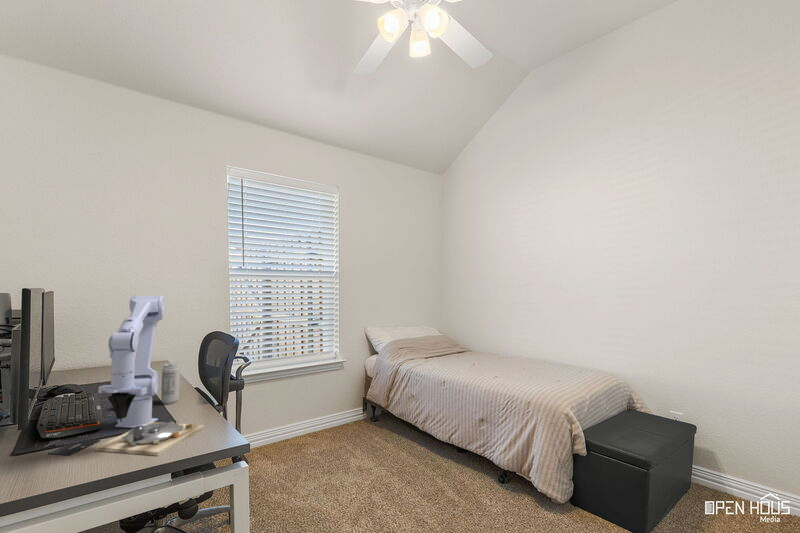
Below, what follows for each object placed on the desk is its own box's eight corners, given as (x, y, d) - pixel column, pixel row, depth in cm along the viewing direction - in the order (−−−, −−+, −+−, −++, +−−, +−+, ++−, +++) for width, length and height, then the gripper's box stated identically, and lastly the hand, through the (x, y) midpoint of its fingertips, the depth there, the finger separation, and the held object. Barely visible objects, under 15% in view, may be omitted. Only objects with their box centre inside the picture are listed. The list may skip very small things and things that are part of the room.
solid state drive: (100, 442, 119) (100, 439, 119) (68, 457, 109) (68, 454, 109) (80, 440, 120) (81, 438, 120) (47, 455, 110) (47, 453, 110)
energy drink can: (182, 400, 158) (182, 363, 158) (172, 405, 152) (172, 366, 152) (168, 399, 159) (169, 362, 159) (157, 404, 153) (158, 365, 153)
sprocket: (108, 443, 114) (108, 428, 114) (150, 423, 130) (150, 409, 130) (157, 447, 112) (157, 431, 112) (194, 426, 128) (194, 412, 128)
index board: (95, 450, 112) (95, 442, 112) (149, 424, 132) (149, 418, 132) (158, 455, 110) (158, 447, 110) (203, 428, 129) (203, 421, 129)
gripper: (89, 374, 114) (88, 421, 114) (133, 376, 112) (132, 424, 112) (110, 368, 121) (109, 413, 121) (152, 370, 119) (151, 415, 119)
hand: (121, 417), depth 117 cm, fingers closed
